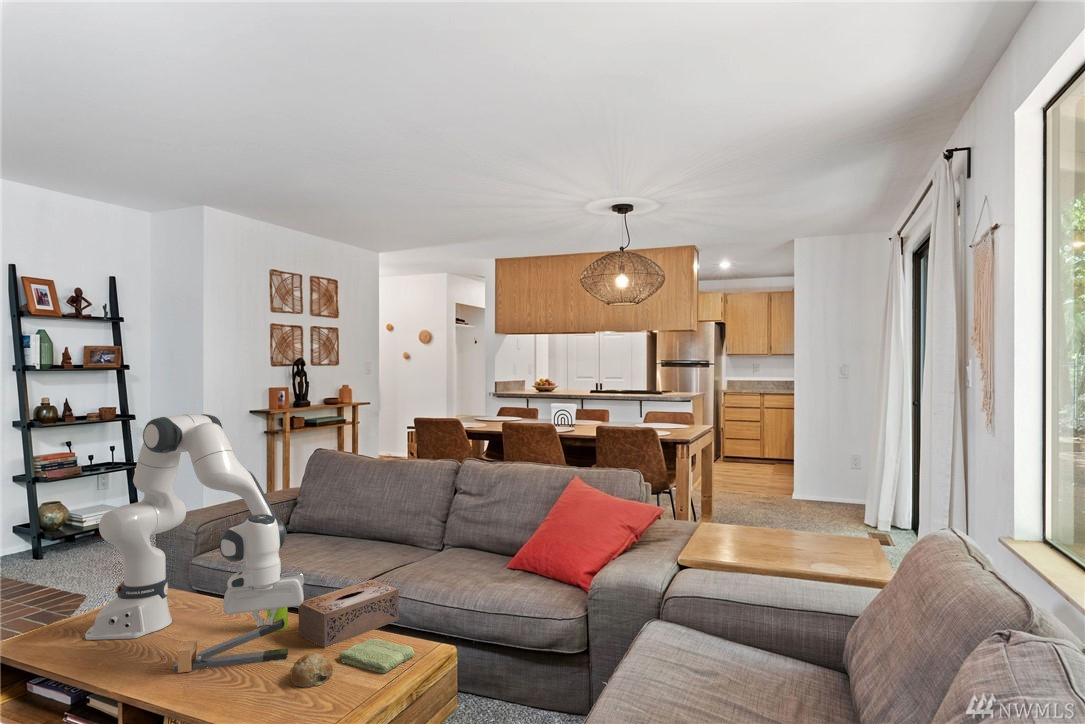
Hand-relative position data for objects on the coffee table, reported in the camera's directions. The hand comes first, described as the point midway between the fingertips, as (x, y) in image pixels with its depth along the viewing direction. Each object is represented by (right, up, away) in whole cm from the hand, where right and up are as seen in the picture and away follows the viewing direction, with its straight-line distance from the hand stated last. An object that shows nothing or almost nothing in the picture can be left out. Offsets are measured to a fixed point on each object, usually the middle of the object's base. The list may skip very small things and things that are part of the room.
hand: (265, 625), depth 175 cm
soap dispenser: (-6, -10, +22) cm, 24 cm away
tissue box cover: (+17, -10, +21) cm, 29 cm away
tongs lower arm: (-8, -9, -2) cm, 13 cm away
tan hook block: (-19, -10, -4) cm, 22 cm away
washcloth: (+31, -10, 0) cm, 32 cm away
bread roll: (+16, -10, -11) cm, 22 cm away
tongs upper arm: (-6, -4, -1) cm, 7 cm away
